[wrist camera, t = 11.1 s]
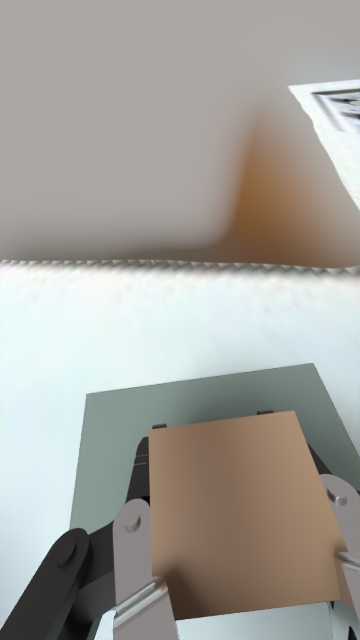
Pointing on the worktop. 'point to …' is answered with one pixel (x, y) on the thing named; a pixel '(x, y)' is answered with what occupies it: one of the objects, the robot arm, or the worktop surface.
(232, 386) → the mat
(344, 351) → the worktop surface
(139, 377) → the worktop surface
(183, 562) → the walnut block
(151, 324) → the worktop surface
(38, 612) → the robot arm
